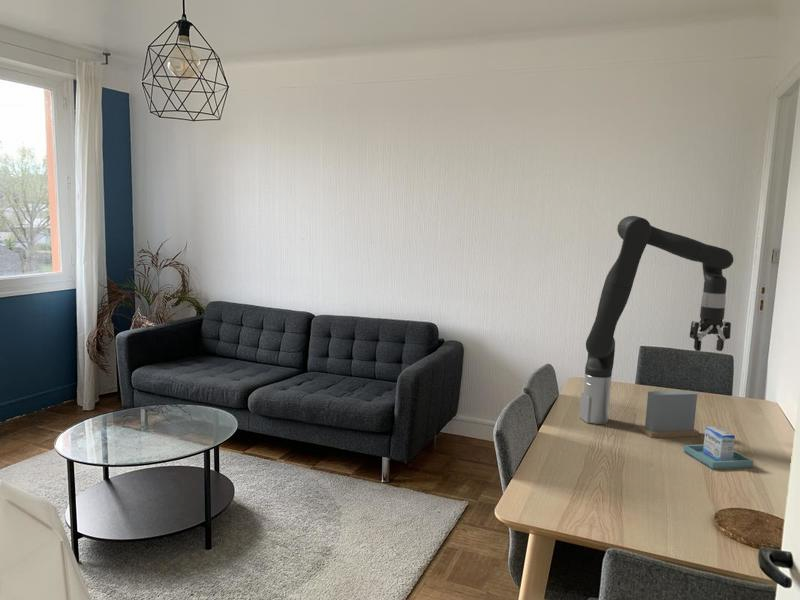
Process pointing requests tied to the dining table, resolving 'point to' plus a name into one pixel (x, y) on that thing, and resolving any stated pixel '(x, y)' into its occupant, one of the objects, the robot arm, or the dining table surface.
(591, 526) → the dining table surface
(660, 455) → the dining table surface
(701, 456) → the teal tray
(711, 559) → the dining table surface
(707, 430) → the medicine box
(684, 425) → the slate unit
